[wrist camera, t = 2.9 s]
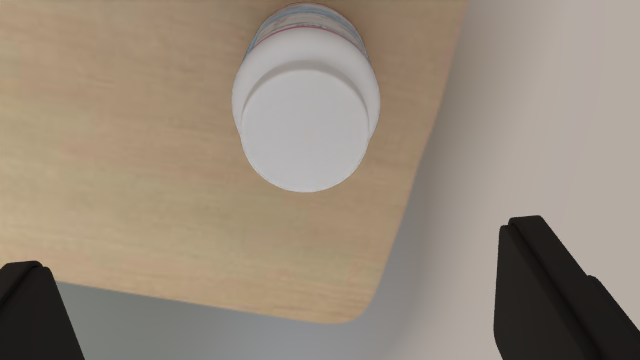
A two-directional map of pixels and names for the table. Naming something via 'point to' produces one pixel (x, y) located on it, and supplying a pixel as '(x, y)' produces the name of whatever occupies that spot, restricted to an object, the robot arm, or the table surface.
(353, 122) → the pill bottle
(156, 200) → the table surface
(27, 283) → the robot arm
